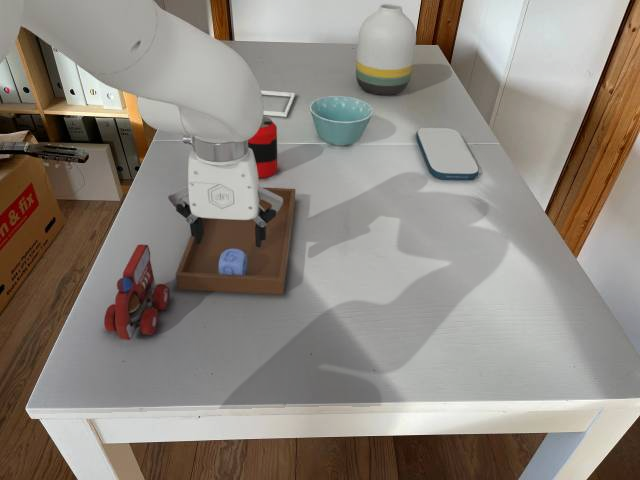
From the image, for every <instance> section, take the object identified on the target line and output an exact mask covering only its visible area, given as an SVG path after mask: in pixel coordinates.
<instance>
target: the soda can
mask: <svg viewBox="0 0 640 480" xmlns="http://www.w3.org/2000/svg"><path fill="white" fill-rule="evenodd" d="M248 148H251V149H252V151H253V154H254V157H255V161H256V166H257V172H258V178H259V179H267V178H270V177H272V176H274V175H275V174H276V173H277V172H278V127H277V125H276V124H275V122H273V120H272V119H271V118H270V117H267V116H263V119H262V123H261V125H260V128H259V130H258V131H257V133H256V134H255V135H254V136H253V137H252V138H250V139H249V140H248Z"/></svg>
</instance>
